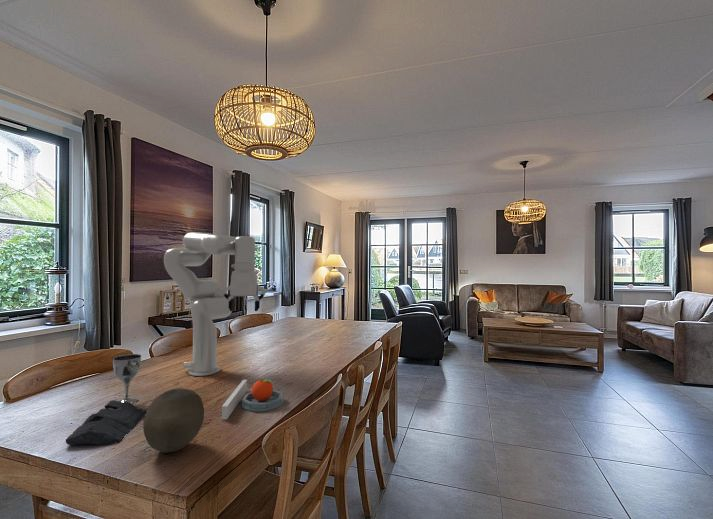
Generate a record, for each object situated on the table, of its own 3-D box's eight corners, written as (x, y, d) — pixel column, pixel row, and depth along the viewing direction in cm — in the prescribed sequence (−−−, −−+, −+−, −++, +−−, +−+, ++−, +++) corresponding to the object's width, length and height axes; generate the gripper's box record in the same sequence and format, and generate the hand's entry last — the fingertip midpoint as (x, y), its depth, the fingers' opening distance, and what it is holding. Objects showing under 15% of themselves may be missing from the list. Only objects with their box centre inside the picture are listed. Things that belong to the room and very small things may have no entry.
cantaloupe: (127, 459, 84) (128, 396, 84) (176, 432, 97) (177, 378, 97) (171, 472, 78) (172, 405, 79) (217, 442, 92) (218, 385, 92)
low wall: (221, 419, 105) (221, 406, 105) (242, 390, 129) (243, 379, 129) (226, 419, 105) (227, 406, 105) (246, 390, 129) (247, 379, 129)
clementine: (275, 395, 122) (275, 375, 122) (276, 403, 116) (277, 381, 116) (251, 397, 120) (252, 377, 120) (251, 405, 113) (251, 383, 114)
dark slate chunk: (51, 452, 87) (51, 433, 87) (95, 415, 108) (95, 400, 108) (121, 446, 90) (121, 427, 90) (150, 411, 112) (150, 396, 112)
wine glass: (145, 398, 120) (146, 355, 120) (123, 407, 113) (124, 361, 113) (129, 395, 123) (129, 353, 123) (106, 404, 115) (107, 358, 115)
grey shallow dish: (236, 412, 110) (236, 404, 110) (247, 395, 124) (247, 389, 124) (280, 411, 111) (280, 404, 111) (286, 395, 125) (286, 388, 125)
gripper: (219, 267, 134) (218, 312, 134) (264, 267, 135) (264, 312, 135) (225, 267, 142) (224, 309, 141) (268, 267, 143) (268, 309, 142)
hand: (244, 310), depth 138 cm, fingers open, 9 cm apart
